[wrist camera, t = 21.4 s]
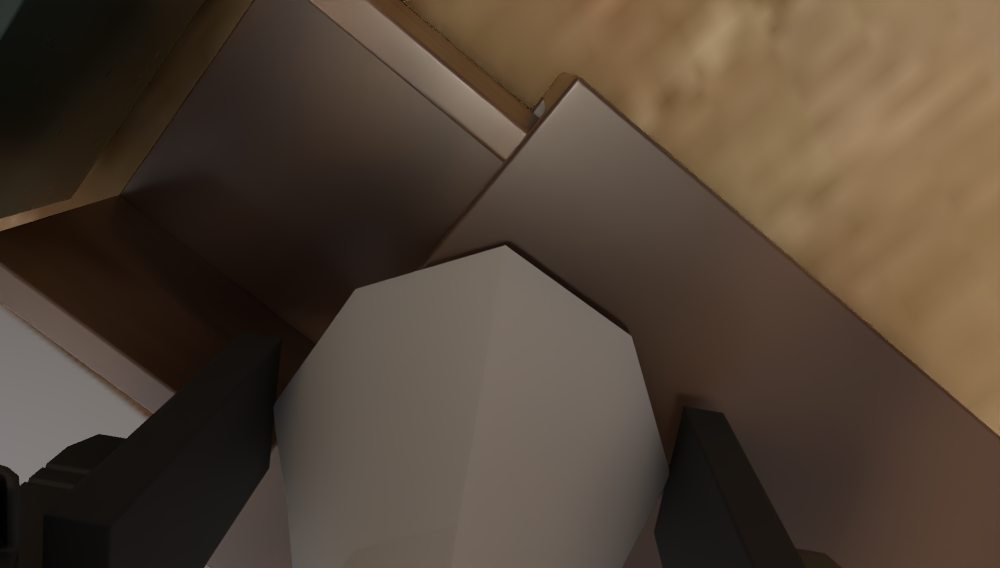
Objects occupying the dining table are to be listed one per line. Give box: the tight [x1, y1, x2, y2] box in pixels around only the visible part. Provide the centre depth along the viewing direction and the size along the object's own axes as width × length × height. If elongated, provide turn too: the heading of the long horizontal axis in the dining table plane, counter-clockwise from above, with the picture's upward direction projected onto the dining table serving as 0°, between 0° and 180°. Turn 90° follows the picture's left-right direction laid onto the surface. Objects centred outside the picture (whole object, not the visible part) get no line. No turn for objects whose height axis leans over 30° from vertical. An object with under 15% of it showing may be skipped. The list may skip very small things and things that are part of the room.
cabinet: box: [206, 73, 1000, 568], centre depth 22 cm, size 15×13×10 cm
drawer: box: [0, 0, 540, 447], centre depth 20 cm, size 19×12×8 cm, turn 51°
